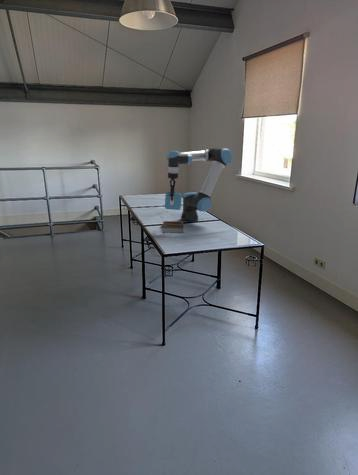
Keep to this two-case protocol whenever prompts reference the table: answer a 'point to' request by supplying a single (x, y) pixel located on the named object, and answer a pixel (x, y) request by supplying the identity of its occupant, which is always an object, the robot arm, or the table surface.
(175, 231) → the charcoal mat
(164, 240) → the table surface
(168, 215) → the table surface
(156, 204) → the table surface
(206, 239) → the table surface
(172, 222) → the walnut box
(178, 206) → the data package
